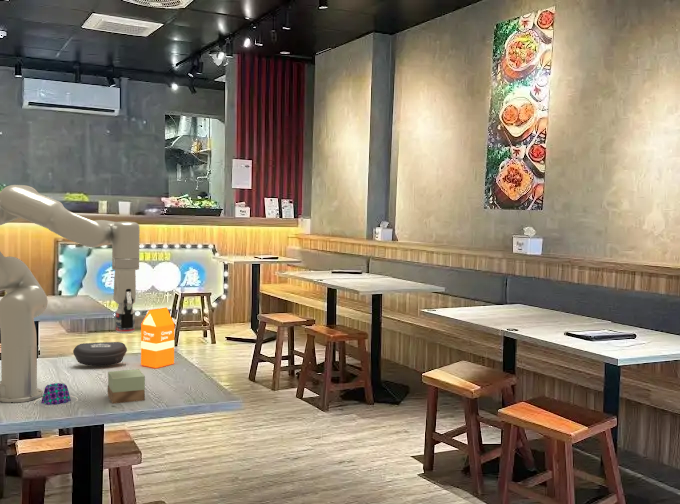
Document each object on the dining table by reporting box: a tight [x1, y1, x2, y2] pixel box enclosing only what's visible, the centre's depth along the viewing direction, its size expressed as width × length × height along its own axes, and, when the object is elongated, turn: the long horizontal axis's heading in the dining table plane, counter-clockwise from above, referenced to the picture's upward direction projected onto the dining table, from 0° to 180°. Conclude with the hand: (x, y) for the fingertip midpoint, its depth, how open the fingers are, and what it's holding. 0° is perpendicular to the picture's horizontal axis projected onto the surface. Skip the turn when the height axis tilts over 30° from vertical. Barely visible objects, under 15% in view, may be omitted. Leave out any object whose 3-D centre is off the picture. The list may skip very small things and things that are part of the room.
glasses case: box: [72, 341, 128, 367], centre depth 253 cm, size 18×10×8 cm, turn 111°
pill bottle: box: [115, 302, 136, 334], centre depth 209 cm, size 5×5×9 cm
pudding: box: [33, 382, 79, 408], centre depth 206 cm, size 12×12×5 cm
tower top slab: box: [107, 368, 146, 393], centre depth 211 cm, size 9×9×4 cm
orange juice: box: [140, 307, 175, 369], centre depth 254 cm, size 8×9×20 cm
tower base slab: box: [107, 384, 146, 404], centre depth 211 cm, size 9×9×4 cm
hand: (125, 325), depth 209 cm, fingers closed on pill bottle, 5 cm apart
